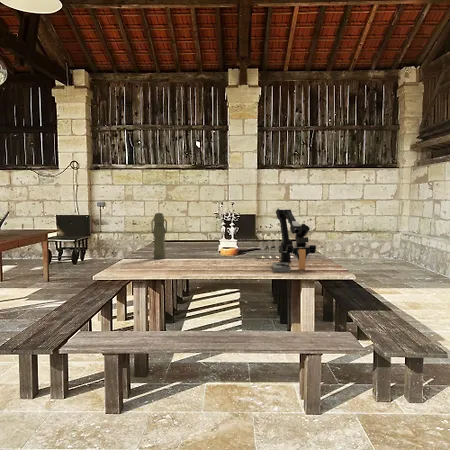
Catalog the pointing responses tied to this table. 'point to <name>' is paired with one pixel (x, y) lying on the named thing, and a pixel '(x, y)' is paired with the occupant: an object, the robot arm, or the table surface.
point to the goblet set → (263, 245)
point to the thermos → (159, 236)
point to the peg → (301, 259)
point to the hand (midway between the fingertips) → (302, 259)
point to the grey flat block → (280, 267)
